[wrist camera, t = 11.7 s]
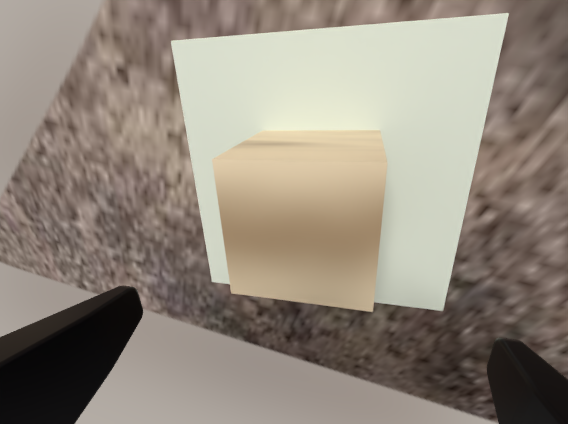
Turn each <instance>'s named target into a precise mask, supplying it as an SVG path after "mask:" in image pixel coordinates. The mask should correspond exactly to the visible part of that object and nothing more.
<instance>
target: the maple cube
mask: <svg viewBox="0 0 568 424" xmlns="http://www.w3.org/2000/svg"><path fill="white" fill-rule="evenodd" d="M212 163H213V170H214V177H215V184H216V191H217V198H218V205H219V212H220V219H221V226H222V233H223V240H224V246H225V253H226V260H227V267H228V274H229V281H230V288H231V293H234V294H241V295H249V296H256V297H264V298H271V299H279V300H287V301H294V302H302V303H309V304H317V305H324V306H332V307H339V308H347V309H355V310H362V311H370V312H373V306H374V296H375V286H376V276H377V265H378V255H379V245H380V235H381V225H382V215H383V204H384V194H385V184H386V174H387V164H388V162H387V158H386V154H385V149H384V145H383V141H382V136H381V132H380V130H267V131H261V132H259V133H257V134H255V135H254V136H252V137H250V138H248V139H247V140H245V141H243V142H241V143H240V144H238V145H236V146H234V147H233V148H231V149H229V150H227V151H226V152H224V153H222V154H220V155H218V156H217V157H215V158H213V159H212Z"/></svg>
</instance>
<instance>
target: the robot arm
mask: <svg viewBox="0 0 568 424" xmlns="http://www.w3.org/2000/svg"><path fill="white" fill-rule="evenodd" d="M142 315H143V308H142V304H141V301H140V298H139V294H138V291H137V289H136V288H134V287H130V286H119V287H116V288H114V289H112V290H109V291H107V292H105V293H102V294H100V295H98V296H95V297H93V298H91V299H89V300H86V301H84V302H81V303H79V304H77V305H74V306H72V307H70V308H67V309H65V310H63V311H61V312H58V313H56V314H53V315H51V316H49V317H47V318H44V319H42V320H40V321H37V322H35V323H32V324H30V325H28V326H25V327H23V328H21V329H18V330H16V331H14V332H11V333H9V334H7V335H4V336H2V337H0V424H75V422H76V421H77V419H78V418H79V417H80V415H81V413H82V412H83V411H84V409H85V408H86V406H87V405H88V404H89V402H90V401H91V399H92V398H93V396H94V395H95V393H96V392H97V390H98V389H99V388H100V386H101V385H102V383H103V382H104V380H105V379H106V378H107V376H108V374H109V373H110V371H111V370H112V368H113V367H114V365H115V363H116V361H117V360H118V358H119V356H120V355H121V353H122V351H123V350H124V348H125V346H126V344H127V342H128V341H129V339H130V337H131V336H132V334H133V332H134V330H135V329H136V327H137V325H138V323H139V322H140V320H141V318H142ZM487 375H488V380H489V384H490V388H491V392H492V397H493V401H494V405H495V409H496V414H497V418H498V422H499V424H568V379H567V378H565V377H564V376H563V375H562V374H561V373H559V372H558V371H557V370H556V369H554V368H553V367H552V366H551V365H550V364H548V363H547V362H546V361H545V360H544V359H542V358H541V357H540V356H539V355H537V354H536V353H535V352H534V351H533V350H531V349H530V348H529V347H528V346H527V345H525V344H524V343H523V342H521V341H519V340H514V339H507V338H497V339H496V340H495V342H494V345H493V348H492V351H491V354H490V357H489V360H488V364H487Z"/></svg>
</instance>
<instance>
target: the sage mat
mask: <svg viewBox="0 0 568 424" xmlns="http://www.w3.org/2000/svg"><path fill="white" fill-rule="evenodd" d="M508 15H509V13H504V14H492V15H480V16H467V17H455V18H443V19H431V20H419V21H406V22H394V23H382V24H370V25H358V26H346V27H333V28H321V29H309V30H297V31H285V32H273V33H260V34H248V35H236V36H224V37H212V38H200V39H187V40H175V41H171V45H172V51H173V56H174V62H175V68H176V74H177V80H178V86H179V91H180V97H181V103H182V109H183V115H184V121H185V126H186V132H187V138H188V144H189V150H190V155H191V161H192V167H193V173H194V179H195V185H196V190H197V196H198V202H199V208H200V214H201V220H202V225H203V231H204V237H205V243H206V249H207V255H208V260H209V266H210V272H211V278H212V282H217V283H225V284H230V281H229V274H228V267H227V260H226V253H225V246H224V240H223V233H222V226H221V219H220V212H219V205H218V198H217V191H216V184H215V177H214V170H213V163H212V159H213V158H215V157H217V156H218V155H220V154H222V153H224V152H226V151H227V150H229V149H231V148H233V147H234V146H236V145H238V144H240V143H241V142H243V141H245V140H247V139H248V138H250V137H252V136H254V135H255V134H257V133H259V132H261V131H267V130H380V132H381V136H382V141H383V145H384V149H385V154H386V158H387V162H388V164H387V174H386V184H385V194H384V204H383V215H382V225H381V235H380V245H379V255H378V265H377V276H376V286H375V296H374V302H376V303H383V304H391V305H399V306H407V307H415V308H423V309H431V310H439V311H443V308H444V304H445V299H446V295H447V290H448V286H449V281H450V277H451V272H452V268H453V263H454V259H455V254H456V250H457V245H458V241H459V236H460V232H461V227H462V223H463V218H464V214H465V209H466V205H467V200H468V196H469V191H470V187H471V182H472V178H473V173H474V168H475V164H476V159H477V155H478V150H479V146H480V141H481V137H482V132H483V128H484V123H485V119H486V114H487V110H488V105H489V101H490V96H491V92H492V87H493V83H494V78H495V74H496V69H497V65H498V60H499V56H500V51H501V47H502V42H503V38H504V33H505V29H506V24H507V20H508Z"/></svg>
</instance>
